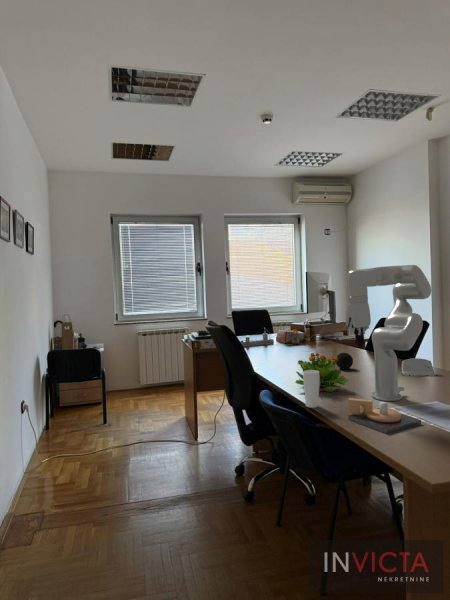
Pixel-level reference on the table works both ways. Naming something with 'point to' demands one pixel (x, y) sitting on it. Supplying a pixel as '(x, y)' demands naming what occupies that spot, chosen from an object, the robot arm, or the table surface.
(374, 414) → the wooden lever dial
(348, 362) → the decorative ball
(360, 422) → the base plate
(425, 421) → the table surface
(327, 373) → the potted flower
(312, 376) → the drinking glass
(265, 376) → the table surface
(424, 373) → the white arched block
